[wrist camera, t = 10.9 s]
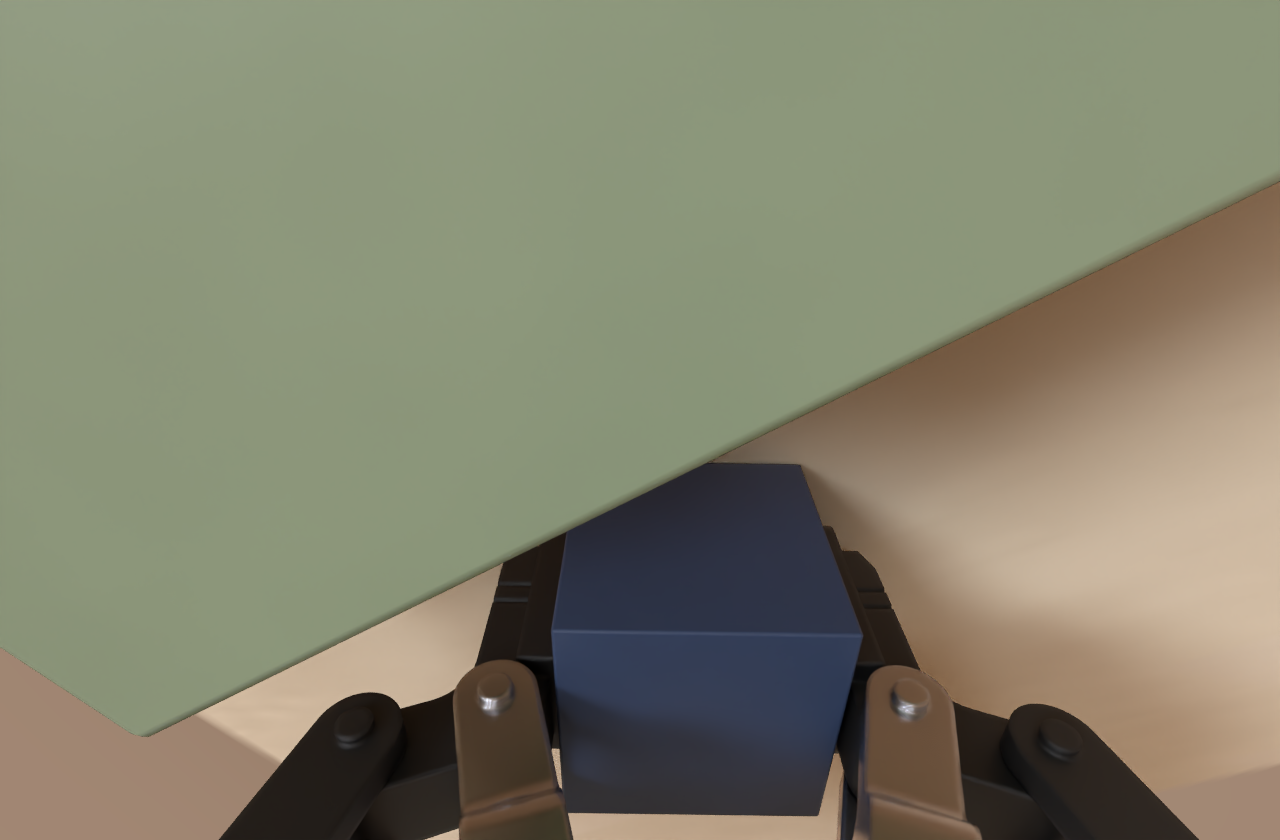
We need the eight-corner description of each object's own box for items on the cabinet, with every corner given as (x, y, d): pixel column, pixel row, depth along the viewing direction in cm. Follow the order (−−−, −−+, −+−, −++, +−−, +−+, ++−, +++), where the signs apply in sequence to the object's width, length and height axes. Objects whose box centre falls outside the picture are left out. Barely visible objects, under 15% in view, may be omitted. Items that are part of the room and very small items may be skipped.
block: (800, 463, 13) (865, 636, 9) (775, 624, 15) (819, 817, 11) (577, 460, 13) (550, 631, 9) (583, 621, 15) (563, 814, 11)
